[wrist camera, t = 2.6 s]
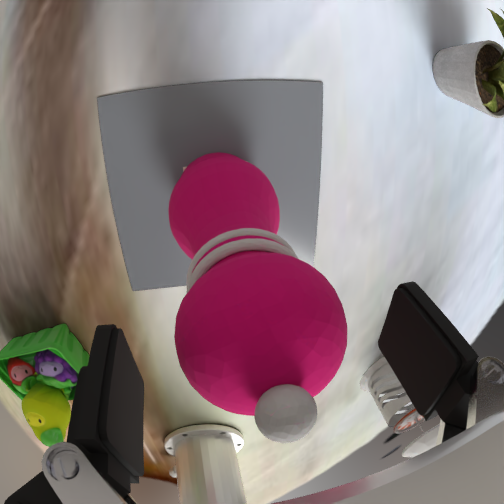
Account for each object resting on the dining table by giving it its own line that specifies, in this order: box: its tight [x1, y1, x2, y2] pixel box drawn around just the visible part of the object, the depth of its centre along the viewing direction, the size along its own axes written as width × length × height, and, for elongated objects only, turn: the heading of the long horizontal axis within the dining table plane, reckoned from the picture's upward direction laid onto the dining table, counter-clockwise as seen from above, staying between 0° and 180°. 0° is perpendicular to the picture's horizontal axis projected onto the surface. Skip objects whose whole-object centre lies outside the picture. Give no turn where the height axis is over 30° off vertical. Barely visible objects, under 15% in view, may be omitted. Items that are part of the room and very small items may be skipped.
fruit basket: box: [0, 324, 89, 447], centre depth 24 cm, size 11×9×11 cm
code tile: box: [97, 80, 323, 291], centre depth 24 cm, size 17×17×1 cm
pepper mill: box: [168, 152, 347, 443], centre depth 16 cm, size 7×7×20 cm
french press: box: [360, 357, 440, 457], centre depth 32 cm, size 10×12×25 cm
